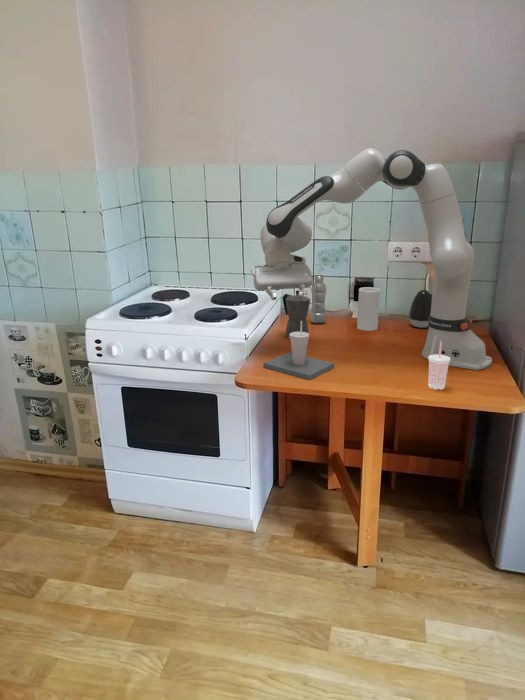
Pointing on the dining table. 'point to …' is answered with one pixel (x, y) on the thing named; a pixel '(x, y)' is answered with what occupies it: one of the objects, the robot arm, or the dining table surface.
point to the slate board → (299, 366)
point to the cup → (368, 308)
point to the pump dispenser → (421, 309)
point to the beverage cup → (438, 370)
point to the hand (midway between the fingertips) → (287, 298)
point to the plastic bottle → (318, 300)
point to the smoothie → (299, 346)
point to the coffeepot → (296, 313)
